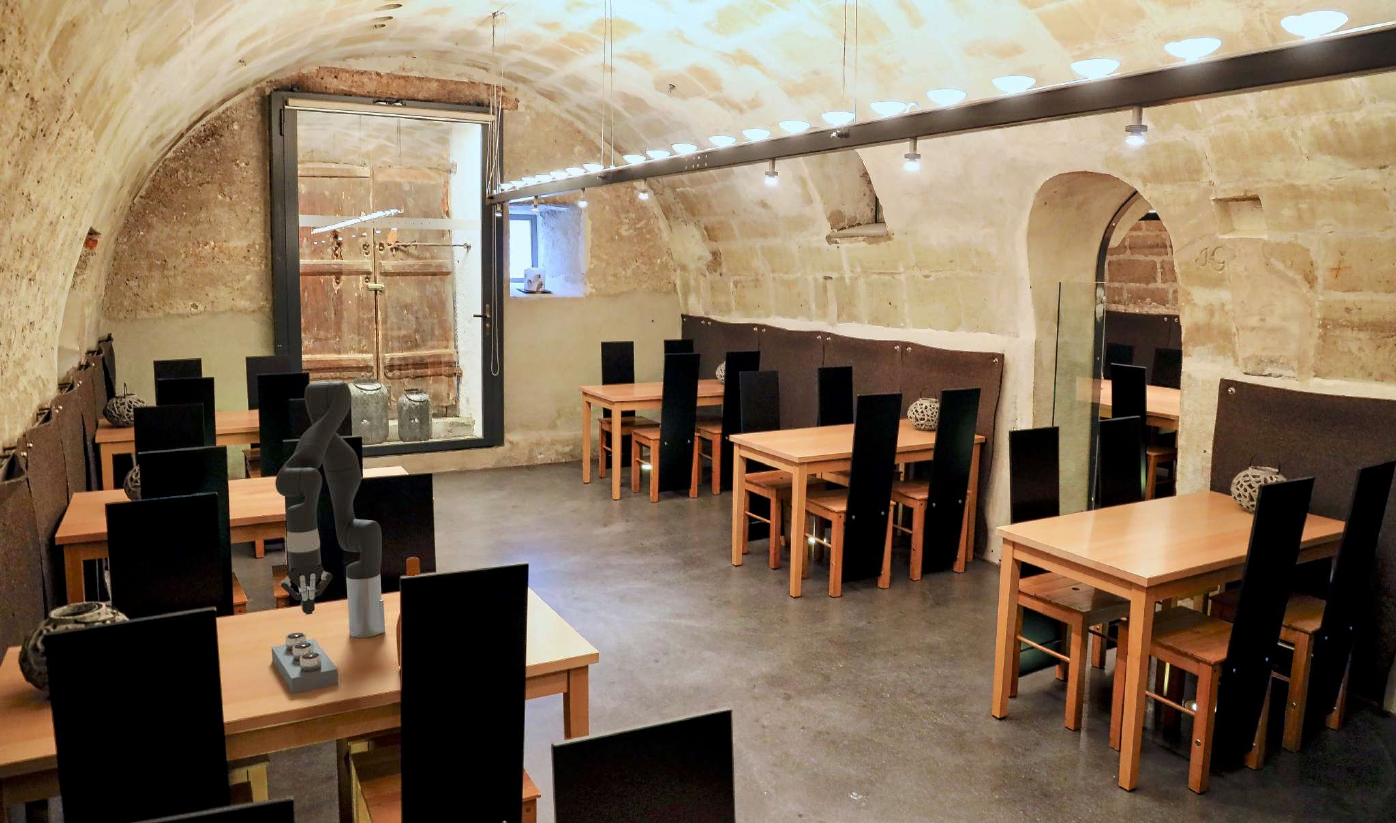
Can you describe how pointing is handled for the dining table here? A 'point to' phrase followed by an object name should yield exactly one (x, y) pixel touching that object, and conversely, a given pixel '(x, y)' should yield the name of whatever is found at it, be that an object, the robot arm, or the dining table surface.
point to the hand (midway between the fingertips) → (308, 613)
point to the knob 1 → (294, 639)
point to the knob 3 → (310, 661)
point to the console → (304, 679)
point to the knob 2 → (301, 649)
